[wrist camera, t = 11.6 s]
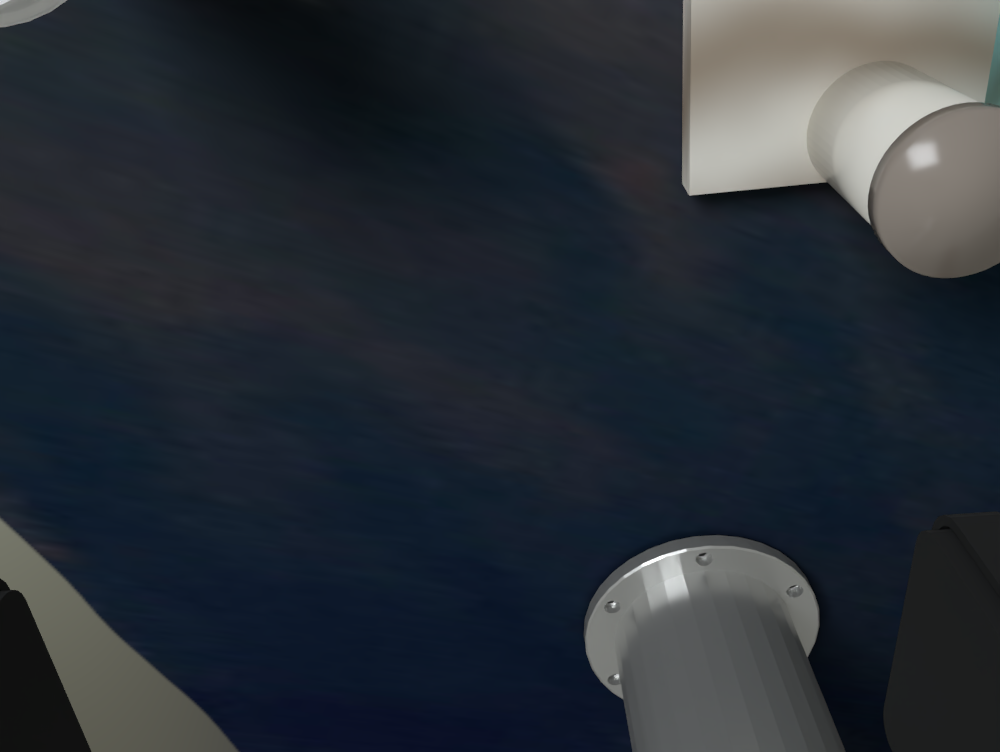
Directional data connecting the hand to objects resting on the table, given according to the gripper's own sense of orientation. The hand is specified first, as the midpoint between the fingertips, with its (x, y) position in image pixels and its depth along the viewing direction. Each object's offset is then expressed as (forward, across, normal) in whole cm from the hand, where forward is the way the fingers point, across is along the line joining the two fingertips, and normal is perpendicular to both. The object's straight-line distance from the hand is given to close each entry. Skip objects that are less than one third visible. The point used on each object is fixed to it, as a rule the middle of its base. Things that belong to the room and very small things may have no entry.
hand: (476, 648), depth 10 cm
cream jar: (+28, -15, +3) cm, 32 cm away
